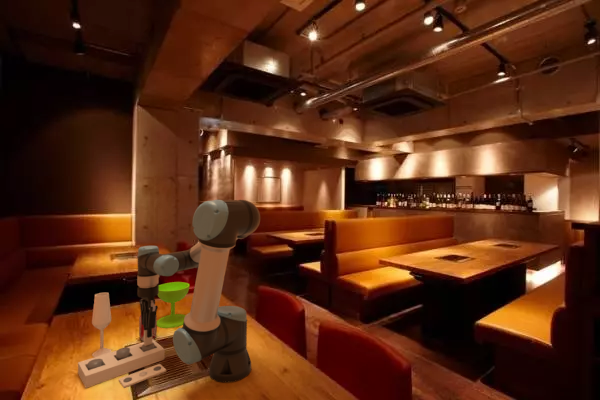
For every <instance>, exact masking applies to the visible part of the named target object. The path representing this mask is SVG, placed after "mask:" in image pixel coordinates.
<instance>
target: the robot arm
mask: <svg viewBox="0 0 600 400" xmlns="http://www.w3.org/2000/svg"><path fill="white" fill-rule="evenodd" d="M260 222H261V214H260V210H259V209H258V207H257V206H256V205H255V204H254V203H252V202H251V201H249V200H246V199H213V200H207V201H206V200H205V201H204V202H202V203H201V204H199V205H198V206H197V208H196V209H195V211H194V213H193V217H192V228H193V229H192V230H193V233H194V235H195V237H196V238H197V241H198V242H196V243H195V245H193V246H192V247H190V248H189V249H187V250H183V251H182V250H181V251H175V252H170V253H168V252H167V253H160V250H159V246H157V245H144V246H143V245H142V246H140V247H139V248H138V249H137V256H136V257H137V286H138V287H137V297H138V298H141V299H139V307H140V315H141V322H142V325H143V327H144V341H143V342H144V345H145V346H147V345H150V344H152V328H155V322H156V315H157V313H158V312H157V311H158V306H159V305H156V299H155V297H156V296H158V293H159V285H160V284H159V280H160V279H159V278H160V276H162V277H171V276H173V275H174V274H176V273H177V272H180V271H186V270H190V269H194V268H195V269H197V272H196V278H195V284H194V290H193V294H192V301H191V307H190V310H189V311H190V312H188V313H187V314H185V315H186V316H185V318H184V323H183V325H182V326H181V327H177V329H176V330H175V331H174V333H173V336H172V343H173V348H174V350H175V353H176V355H177V357H179V359H180V360H181V361H182V362H183V363H184V364H186V365H192V364H195V363H197V362H201V361H202V360H203V359H206V358H208V357H209V356H212V357H211V361H210V364H209V367H208V368H209V369H208V374H209V377H210V378H211V379H212V380H214V381H216V382H220V383H233V382H238V381H241V380H243V379H244V378H246V377H247V376H249V374H250V373H251V371H252V361H251V358H250V355H249V351H248V347H247V346H248V345H247V343H248V342H247V337H248V335H247V334H248V333H247V332H248V331H247V329H248V318H247V311H246V310H245V308H244V307H243V308H242V307H241V306H235V305H220V302H221V296H222V291H223V285H224V281H225V275H226V271H227V265H228V261H229V255H230V250H231V249H233V248H234V247H236V243H237V240H238V239H240V240H242V239H243V240H244V239H245V238H247V237H248V236H250V235H251V234H253V233H254V232H255V231H256V230H257V229H258V227H259V226H260Z"/></svg>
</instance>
